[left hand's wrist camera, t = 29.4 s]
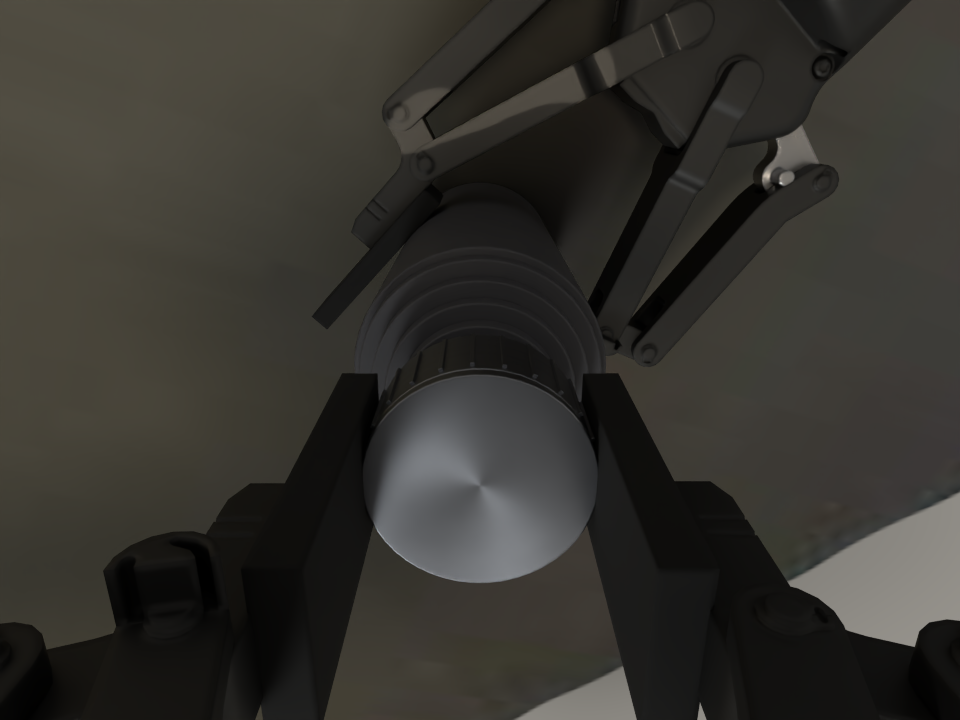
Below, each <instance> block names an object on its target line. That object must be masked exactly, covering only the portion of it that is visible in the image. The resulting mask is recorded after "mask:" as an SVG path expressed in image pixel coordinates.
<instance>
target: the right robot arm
mask: <svg viewBox="0 0 960 720" xmlns="http://www.w3.org/2000/svg"><path fill="white" fill-rule="evenodd" d="M549 1H550V0H490V1H489V2H488V3H487V4H486V5H485V6H484V7H483V8H482V9H481V10H480V11H479V12H478V13H477V14H476V15H475V16H474V17H473V18H472V19H471V20H470V21H468V22H467V23H466V24H465V25H464V26H463V27H462V28H461V29H460V30H459V31H458V32H457V33H456V34H455V35H454V36H453V37H452V38H451V39H450V40H449V41H448V42H447V43H446V44H445V45H443V46H442V47H441V48H440V49H439V50H438V51H437V52H436V53H435V54H434V55H433V56H432V57H431V58H430V59H429V60H428V61H427V62H426V63H425V64H424V65H423V66H422V67H421V68H420V69H418V70H417V71H416V72H415V73H414V74H413V75H412V76H411V77H410V78H409V79H408V80H407V81H406V82H405V83H404V84H403V85H402V86H401V87H400V88H399V89H398V90H397V91H396V92H395V93H393V94H392V95H391V96H390V97H389V98H388V99H387V101H386V102H385V104H384V105H383V110H382V115H383V120H384V122H385V123H386V125H387V126H388V127H389V128H390V130H391V132H392V134H393V136H394V138H395V139H396V141H397V143H398V145H399V148H400V150H401V156H402V158H401V164H400V167H399V169H398V170H397V172H396V173H395V174H394V175H393V176H392V177H391V179H390V180H389V181H388V182H387V183H386V184H385V185H384V187H383V188H382V189H381V190H380V191H379V192H378V194H377V195H376V196H375V197H374V198H373V199H372V201H371V202H370V203H369V204H368V205H367V206H366V208H365V209H364V210H363V211H362V212H361V213H360V214H359V216H358V217H357V218H356V219H355V223H354V226H353V229H352V233H353V234H354V235H355V236H356V237H357V238H358V239H360V240H361V241H362V242H363V243H364V244H365V245H366V246H367V247H369V248H370V250H369V251H368V252H367V253H366V254H365V256H364V257H363V258H362V259H361V260H360V261H359V262H358V263H357V265H356V266H355V267H354V268H353V269H352V270H351V271H350V272H349V274H348V275H347V276H346V277H345V278H344V279H343V280H342V281H341V283H340V284H339V285H338V286H337V287H336V288H335V289H334V291H333V292H332V293H331V294H330V295H329V296H328V297H327V298H326V300H325V301H324V302H323V303H322V305H321V306H320V307H319V308H318V310H317V311H316V312H315V313H314V314H313V316H312V317H313V318H314V319H315V320H317V321H318V322H319V323H320V324H321V325H323V326H324V327H325V328H326V329H328V328H329V327H330V326H331V324H332V323H333V322H334V321H335V320H336V319H337V318H338V317H339V316H340V315H341V313H342V312H343V311H344V310H345V309H346V308H347V307H348V306H349V305H350V303H351V302H352V301H353V300H354V299H355V298H356V297H357V296H358V295H359V293H360V292H361V291H362V290H363V289H364V288H365V287H366V286H367V285H368V283H369V282H370V281H371V280H372V279H373V278H374V277H375V276H376V275H377V273H378V272H379V271H380V270H381V269H382V268H383V267H384V266H385V265H386V264H387V262H388V261H389V260H390V259H391V258H392V257H393V256H394V255H395V254H396V252H397V251H398V250H399V249H400V248H401V247H402V246H403V245H404V244H405V242H406V241H407V240H408V239H409V238H410V237H411V236H412V235H413V234H414V232H415V231H416V230H417V229H418V228H419V227H420V226H421V225H422V224H423V222H424V221H425V220H426V219H427V218H428V217H429V216H430V215H431V214H432V212H433V211H434V210H435V209H436V208H437V207H438V206H439V205H440V203H441V200H442V198H443V196H444V195H443V194H442V193H440V192H439V191H438V190H437V189H436V188H435V187H434V186H433V185H432V184H431V183H432V182H433V181H434V180H435V179H436V178H438V177H440V176H442V175H444V174H445V173H447V172H449V171H451V170H453V169H455V168H457V167H459V166H461V165H462V164H464V163H466V162H468V161H470V160H472V159H474V158H476V157H478V156H479V155H481V154H483V153H485V152H487V151H489V150H491V149H493V148H495V147H496V146H498V145H500V144H502V143H504V142H506V141H508V140H510V139H512V138H513V137H515V136H517V135H519V134H521V133H523V132H525V131H527V130H528V129H530V128H532V127H534V126H536V125H538V124H540V123H542V122H544V121H545V120H547V119H549V118H551V117H553V116H555V115H557V114H559V113H561V112H562V111H564V110H566V109H568V108H570V107H572V106H574V105H576V104H578V103H579V102H581V101H583V100H585V99H587V98H589V97H591V96H593V95H595V94H598V93H600V92H602V91H604V90H606V89H608V88H611V89H612V90H613V91H614V92H615V94H616V95H617V96H618V97H619V98H620V99H621V100H622V101H623V102H625V103H626V104H628V105H630V106H631V107H633V108H635V109H636V110H638V111H640V112H641V113H642V115H643V117H644V119H645V121H646V123H647V125H648V127H649V129H650V131H651V132H652V133H653V135H654V136H655V137H656V138H657V139H658V140H659V141H660V142H661V143H662V144H663V145H662V147H661V149H660V151H659V153H658V155H657V157H656V159H655V162H654V165H653V169H652V174H651V176H650V178H649V180H648V182H647V184H646V186H645V188H644V190H643V192H642V194H641V196H640V198H639V200H638V202H637V204H636V206H635V208H634V210H633V212H632V214H631V216H630V218H629V220H628V222H627V224H626V226H625V228H624V230H623V232H622V234H621V236H620V238H619V240H618V242H617V244H616V246H615V248H614V250H613V252H612V254H611V256H610V258H609V260H608V262H607V264H606V266H605V268H604V270H603V272H602V274H601V276H600V278H599V280H598V282H597V284H596V286H595V288H594V290H593V292H592V294H591V296H590V298H589V300H588V304H589V305H590V307H591V309H592V311H593V313H594V315H595V317H596V319H597V321H598V324H599V327H600V330H601V332H602V337H603V342H604V346H605V356H610V355H614V354H616V353H619V354H622V355H624V356H627V357H629V358H631V359H634V360H635V361H636V362H637V363H638V364H639V365H641V366H643V367H651V366H654V365H656V364H657V363H658V362H660V361H661V360H662V358H663V357H664V356H665V355H666V354H667V353H668V352H669V351H670V350H671V348H672V347H673V346H674V345H675V344H676V343H677V342H678V341H679V340H680V339H681V337H682V336H683V335H684V334H685V333H686V332H687V331H688V330H689V329H690V327H691V326H692V325H693V324H694V323H695V322H696V321H697V320H698V319H699V318H700V316H701V315H702V314H703V313H704V312H705V311H706V310H707V309H708V308H709V306H710V305H711V304H712V303H713V302H714V301H715V300H716V299H717V298H718V296H719V295H720V294H721V293H722V292H723V291H724V290H725V289H726V288H727V287H728V285H729V284H730V283H731V282H732V281H733V280H734V279H735V278H736V277H737V275H738V274H739V273H740V272H741V271H742V270H743V269H744V268H745V267H746V265H747V264H748V263H749V262H750V261H751V260H752V259H753V258H754V257H755V256H756V254H757V253H758V252H759V251H760V250H761V249H762V248H763V247H764V246H765V244H766V243H767V242H768V241H769V240H770V239H771V238H772V237H773V236H774V235H775V233H776V232H777V231H778V230H779V229H780V228H781V227H782V226H783V225H784V223H785V222H786V221H788V220H790V219H791V218H793V217H795V216H797V215H798V214H800V213H802V212H803V211H805V210H807V209H808V208H810V207H812V206H813V205H815V204H817V203H818V202H820V201H822V200H823V199H825V198H827V197H829V196H830V195H831V194H832V193H833V192H834V191H835V189H836V188H837V186H838V182H839V177H838V173H837V171H836V170H835V169H834V168H833V167H831V166H829V165H824V164H820V163H819V162H818V160H817V157H816V155H815V153H814V151H813V149H812V146H811V144H810V142H809V140H808V138H807V135H806V133H805V131H804V129H803V127H802V123H803V122H804V121H805V119H806V118H807V116H808V114H809V112H810V109H811V106H812V104H813V101H814V99H815V97H816V95H817V94H818V92H819V90H820V89H821V87H822V86H823V85H824V84H825V83H826V81H827V80H829V79H830V78H831V77H832V76H833V75H834V74H835V73H836V72H837V71H839V70H840V69H841V68H842V67H843V66H844V65H845V64H846V63H847V62H848V61H849V60H850V59H851V58H852V57H853V56H854V55H856V54H857V53H858V52H859V51H860V50H861V49H862V48H863V47H864V46H865V45H866V44H867V43H868V42H869V41H870V40H871V39H872V38H873V37H874V36H875V35H876V34H877V33H878V32H879V31H880V30H881V29H882V28H883V27H884V26H885V25H886V24H887V23H888V22H889V21H891V20H892V19H893V18H894V17H895V16H896V15H897V14H898V13H899V12H900V11H901V10H902V9H903V8H904V7H905V6H906V5H907V4H908V3H909V2H910V1H911V0H616V6H615V11H614V17H613V23H612V29H611V34H610V40H609V45H607V46H605V47H603V48H602V49H600V50H598V51H596V52H594V53H592V54H590V55H589V56H587V57H585V58H583V59H581V60H579V61H577V62H576V63H574V64H572V65H570V66H568V67H567V68H565V69H563V70H561V71H559V72H557V73H555V74H554V75H552V76H550V77H548V78H546V79H544V80H543V81H541V82H539V83H537V84H535V85H533V86H531V87H530V88H528V89H526V90H524V91H522V92H520V93H518V94H517V95H515V96H513V97H511V98H509V99H507V100H506V101H504V102H502V103H500V104H498V105H496V106H494V107H493V108H491V109H489V110H487V111H485V112H483V113H482V114H480V115H478V116H476V117H474V118H472V119H470V120H469V121H467V122H465V123H463V124H461V125H459V126H457V127H456V128H454V129H452V130H450V131H448V132H446V133H445V134H443V135H441V136H439V137H437V138H435V136H434V134H433V132H432V130H431V128H430V126H429V124H428V122H427V120H426V117H427V116H428V115H429V114H430V113H431V112H432V111H433V110H434V109H435V108H436V107H438V106H439V105H440V104H441V103H442V102H443V101H444V100H445V99H446V98H447V97H448V96H449V95H450V94H451V93H453V92H454V91H455V90H456V89H457V88H458V87H459V86H460V85H461V84H462V83H463V82H464V81H465V80H466V79H467V78H469V77H470V76H471V75H472V74H473V73H474V72H475V71H476V70H477V69H478V68H479V67H480V66H481V65H482V64H484V63H485V62H486V61H487V60H488V59H489V58H490V57H491V56H492V55H493V54H494V53H495V52H496V51H497V50H498V49H500V48H501V47H502V46H503V45H504V44H505V43H506V42H507V41H508V40H509V39H510V38H511V37H512V36H513V35H515V34H516V33H517V32H518V31H519V30H520V29H521V28H522V27H523V26H524V25H525V24H526V23H527V22H528V21H530V20H531V19H532V18H533V17H534V16H535V15H536V14H537V13H538V12H539V11H540V10H541V9H542V8H543V7H544V6H546V5H547V4H548V3H549ZM766 140H767V142H768V151H767V154H766V156H765V157H764V159H763V160H762V161H761V162H760V163H759V164H758V165H757V166H756V168H755V169H754V173H753V180H754V183H753V184H752V185H750V186H749V187H748V188H747V189H745V190H744V191H743V192H742V193H741V194H739V195H738V196H737V198H736V199H735V200H734V201H733V202H732V203H731V204H730V205H729V206H728V207H727V208H726V209H725V211H724V212H723V213H722V214H721V215H720V216H719V218H718V219H717V220H716V221H715V222H714V223H713V224H712V226H711V227H710V228H709V229H708V230H707V231H706V233H705V234H704V235H703V236H702V237H701V238H700V239H699V241H698V242H697V243H696V244H695V245H694V246H693V248H692V249H691V250H690V251H689V252H688V253H687V254H686V256H685V257H684V258H683V259H682V260H681V261H680V263H679V264H678V265H677V266H676V267H675V268H674V269H673V271H672V272H671V273H670V274H669V275H668V276H667V278H666V279H665V280H664V281H663V282H662V283H661V284H660V286H659V287H658V288H657V289H656V290H655V291H654V293H653V294H652V295H651V296H650V297H649V298H648V299H647V301H646V302H645V303H644V304H643V305H642V306H641V308H640V309H639V310H638V311H637V312H636V313H635V314H634V316H633V317H632V315H633V313H634V311H635V310H636V308H637V306H638V304H639V302H640V300H641V298H642V296H643V294H644V293H645V291H646V289H647V287H648V285H649V283H650V281H651V279H652V277H653V276H654V274H655V272H656V270H657V268H658V266H659V264H660V262H661V260H662V259H663V257H664V255H665V253H666V251H667V249H668V247H669V245H670V243H671V242H672V240H673V238H674V236H675V234H676V232H677V230H678V228H679V226H680V225H681V223H682V221H683V219H684V217H685V215H686V213H687V211H688V209H689V208H690V206H691V204H692V202H693V200H694V198H695V196H696V195H697V193H698V192H699V191H700V190H701V189H703V188H704V187H705V185H706V184H707V183H708V181H709V179H710V178H711V176H712V174H713V172H714V170H715V168H716V166H717V164H718V163H719V161H720V159H721V157H722V155H723V153H724V151H725V149H726V148H730V147H736V146H741V145H746V144H751V143H756V142H761V141H766ZM631 317H632V318H631Z"/></svg>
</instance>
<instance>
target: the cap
mask: <svg viewBox="0 0 960 720" xmlns="http://www.w3.org/2000/svg"><path fill="white" fill-rule="evenodd" d="M370 428H372V432H371V435H370V438H369V441H368V444H367V446H366V449H365V453H364V457H363V462H362V471H363V487H364V500H365V507H366V509H367V512H368V515H369V517H370V519H371V521H372V523H373V525H374V526H375V528H376V530H377V531H378V533H379V534H380V535H381V537H382V538H383V539H384V541H385V542H386V543H387V544H388V545H389V546H390V547H391V548H392V549H393V550H394V551H395V552H396V553H397V554H399V555H400V556H401V557H402V558H404V559H405V560H406V561H408V562H410V563H411V564H413V565H414V566H416V567H418V568H420V569H422V570H424V571H426V572H428V573H430V574H433V575H436V576H439V577H442V578H446V579H450V580H455V581H461V582H470V583H491V582H500V581H506V580H510V579H515V578H518V577H521V576H524V575H527V574H530V573H532V572H534V571H536V570H539V569H541V568H543V567H544V566H546V565H548V564H549V563H551V562H553V561H554V560H556V559H557V558H558V557H559V556H561V555H562V554H563V553H564V552H566V551H567V550H568V549H569V548H570V547H571V545H572V544H573V543H574V542H575V541H576V540H577V539H578V537H579V536H580V535H581V533H582V532H583V531H584V529H585V527H586V525H587V524H588V522H589V520H590V518H591V516H592V513H593V511H594V508H595V505H596V493H597V479H598V460H597V455H596V451H595V448H594V445H593V442H595V438H594V435H593V432H592V429H591V427H590V424H589V421H588V418H587V415H586V412H585V409H584V406H583V404H582V401H581V402H579V400H578V397H577V395H576V392H575V389H574V386H573V383H572V380H571V379H570V378H569V379H567V377H566V376H565V375H564V374H563V372H562V371H561V370H560V369H559V368H558V367H557V366H556V364H555V361H554V360H553V359H552V358H551V359H549V358H547V357H546V356H545V355H543V354H542V353H541V352H539V351H537V350H535V349H534V348H532V347H531V345H530V344H527V345H526V344H523V343H521V342H518V341H516V340H512V339H508V338H504V336H503V335H500V336H492V335H475V333H474V334H471V335H469V336H461V337H456V338H452V339H448V340H447V339H443V341H442V342H440V343H437V344H435V345H432V346H430V347H429V348H427V349H425V350H423V351H421V350H420V351H418V352H417V355H416V356H414V357H413V358H412V359H410V360H409V361H408V362H407V363H406V364H405V365H404V366H403V367H402V368H401V369H400V368H398V369H397V371H396V374H395V377H394V378H393V379H392V381H391V383H390V384H389V386H388V388H387V390H385V389H384V390H383V392H382V395H381V397H380V400H379V403H378V406H377V409H376V412H375V415H374V418H373V421H372V424H371V426H370Z"/></svg>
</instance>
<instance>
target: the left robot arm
mask: <svg viewBox="0 0 960 720" xmlns="http://www.w3.org/2000/svg"><path fill="white" fill-rule="evenodd" d="M581 401H582V404H583V406H584V409H585V412H586V415H587V418H588V421H589V424H590V427H591V429H592V432H593V435H594V438H595V442H593V445H594V448H595V451H596V455H597V460H598V479H597V493H596V505H595V508H594V511H593V513H592V516H591V518H590V520H589V522H588V524H587V527H588V531H589V535H590V539H591V542H592V546H593V550H594V554H595V558H596V562H597V566H598V570H599V574H600V578H601V581H602V585H603V589H604V593H605V597H606V601H607V605H608V609H609V613H610V617H611V621H612V624H613V628H614V632H615V636H616V640H617V644H618V648H619V652H620V656H621V660H622V663H623V667H624V671H625V675H626V679H627V683H628V687H629V691H630V695H631V698H632V702H633V706H634V710H635V714H636V718H637V720H697V718H698V711H699V704H700V703H701V706H702V708H703V711H704V714H705V717H706V719H707V720H960V621H955V620H941V621H935V622H930V623H928V624H927V625H926V626H925V627H924V628H923V629H921V630H920V631H919V634H918V638H917V641H916V645H915V647H912V646H907V645H903V644H898V643H894V642H890V641H885V640H881V639H876V638H872V637H867V636H864V635H860V634H857V633H853V632H850V631H847V630H845V627H844V625H843V624H842V622H841V621H840V619H839V618H838V616H837V615H836V613H835V612H834V611H833V610H832V609H831V608H830V607H828V606H827V605H826V604H825V603H823V602H822V601H821V600H820V599H818V598H817V597H815V596H812V595H810V594H808V593H806V592H804V591H802V590H800V589H798V588H794V587H790V585H789V584H788V582H787V581H786V579H785V578H784V576H783V575H782V573H781V571H780V570H779V568H778V567H777V565H776V564H775V562H774V561H773V559H772V558H771V556H770V555H769V553H768V551H767V550H766V548H765V547H764V545H763V544H762V542H761V541H760V539H759V538H758V536H757V535H755V533H754V532H755V531H754V530H753V528H752V527H751V525H750V524H749V522H748V521H747V520H745V518H744V514H743V513H742V511H741V510H740V508H739V507H738V505H737V504H736V502H735V501H734V499H733V497H731V496H730V495H728V494H727V493H726V492H724V491H723V490H721V489H720V488H719V487H717V486H716V485H715V484H713V483H712V482H710V481H674V480H673V478H672V476H671V474H670V472H669V470H668V468H667V466H666V464H665V462H664V460H663V459H662V457H661V455H660V453H659V451H658V449H657V447H656V445H655V443H654V441H653V439H652V437H651V436H650V434H649V432H648V430H647V428H646V426H645V424H644V422H643V420H642V418H641V416H640V414H639V412H638V411H637V409H636V407H635V405H634V403H633V401H632V399H631V397H630V395H629V393H628V391H627V389H626V388H625V386H624V384H623V382H622V380H621V378H620V376H619V374H618V373H583V381H582V398H581ZM378 403H379V391H378V373H342V375H341V377H340V379H339V381H338V383H337V385H336V386H335V388H334V390H333V392H332V394H331V396H330V398H329V400H328V402H327V404H326V406H325V408H324V410H323V411H322V413H321V415H320V417H319V419H318V421H317V423H316V425H315V427H314V429H313V431H312V433H311V434H310V436H309V438H308V440H307V442H306V444H305V446H304V448H303V450H302V452H301V454H300V456H299V458H298V459H297V461H296V463H295V465H294V467H293V469H292V471H291V473H290V475H289V477H288V479H287V481H286V483H250V484H249V485H248V486H246V487H245V488H244V489H242V490H241V491H239V492H238V493H237V494H235V495H234V496H232V497H231V498H230V499H228V501H227V502H226V504H225V505H224V507H223V509H222V510H221V512H220V513H219V515H218V516H217V518H216V522H214V523H213V524H212V526H211V527H210V529H209V530H208V532H207V533H206V535H205V534H201V533H197V532H170V533H166V534H161V535H157V536H152V537H150V538H147V539H145V540H142V541H140V542H138V543H135V544H133V545H131V546H129V547H128V548H126V549H125V550H124V551H122V552H121V553H119V554H118V555H116V556H115V557H114V558H113V559H112V560H111V561H110V563H109V564H108V565H107V567H106V568H105V569H104V571H103V572H104V576H105V581H106V585H107V589H108V593H109V598H110V602H111V606H112V610H113V614H114V619H115V623H116V628H115V631H114V633H113V634H110V635H106V636H103V637H99V638H96V639H92V640H88V641H83V642H79V643H74V644H70V645H65V646H61V647H57V648H52V649H48V650H46V646H45V643H44V639H43V636H42V634H41V633H40V632H39V631H38V630H37V629H36V628H35V627H33V626H32V625H27V624H22V623H16V622H12V623H4V624H0V720H255V718H256V716H257V713H258V710H259V708H260V705H261V708H262V715H263V720H324V716H325V712H326V708H327V704H328V700H329V696H330V692H331V689H332V685H333V681H334V677H335V673H336V669H337V665H338V661H339V657H340V653H341V649H342V646H343V642H344V638H345V634H346V630H347V626H348V622H349V618H350V614H351V610H352V607H353V603H354V599H355V595H356V591H357V587H358V583H359V579H360V575H361V571H362V567H363V564H364V560H365V556H366V552H367V548H368V544H369V540H370V536H371V532H372V528H373V523H372V521H371V519H370V517H369V515H368V512H367V509H366V507H365V500H364V487H363V471H362V462H363V457H364V453H365V449H366V446H367V444H368V441H369V438H370V435H371V432H372V428H370V426H371V424H372V421H373V418H374V415H375V412H376V409H377V406H378Z"/></svg>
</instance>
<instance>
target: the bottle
mask: <svg viewBox="0 0 960 720" xmlns="http://www.w3.org/2000/svg"><path fill="white" fill-rule="evenodd" d="M442 194H443V195H444V196H443V198H442V200H441V203H440V205H439V206H438V207H437V208H436V209H435V210H434V211H433V212H432V214H431V215H430V216H429V217H428V218H427V219H426V220H425V221H424V222H423V224H422V225H421V226H420V227H419V228H418V229H417V230H416V231H415V232H414V234H413V235H412V236H411V237H410V238H409V239H408V240H407V241H406V243H405V245H404V247H403V248H402V250H401V252H400V254H399V256H398V257H397V259H396V261H395V263H394V265H393V266H392V268H391V270H390V272H389V274H388V275H387V277H386V279H385V281H384V283H383V284H382V286H381V288H380V290H379V292H378V293H377V295H376V297H375V299H374V301H373V302H372V304H371V306H370V308H369V310H368V312H367V313H366V315H365V317H364V320H363V322H362V325H361V328H360V330H359V334H358V338H357V343H356V347H355V361H354V365H355V373H378V391H379V400H380V397H381V395H382V392H383V390H384V389H385V390H387V388H388V386H389V384H390V383H391V381H392V379H393V378H394V377H395V374H396V371H397V369H398V368H400V369H401V368H402V367H403V366H404V365H405V364H406V363H407V362H408V361H409V360H410V359H412V358H413V357H414V356H416V355H417V352H418V351H420V350H421V351H423V350H425V349H427V348H429V347H430V346H432V345H435V344H437V343H440V342H442V341H443V339H447V340H448V339H452V338H456V337H461V336H469V335H471V334H474V333H475V335H492V336H500V335H503V336H504V338H508V339H512V340H516V341H518V342H521V343H523V344H526V345H527V344H530V345H531V347H532V348H534V349H535V350H537V351H539V352H541V353H542V354H543V355H545V356H546V357H547V358H549V359H551V358H552V359H553V360H554V361H555V364H556V366H557V367H558V368H559V369H560V370H561V371H562V372H563V374H564V375H565V376H566V377H567V379H569V378H570V379H571V380H572V383H573V386H574V389H575V392H576V395H577V397H578V400H579V402H581V398H582V381H583V373H605V369H606V357H605V346H604V342H603V337H602V332H601V330H600V327H599V324H598V321H597V319H596V317H595V315H594V313H593V311H592V309H591V307H590V305H589V304H588V302H587V300H586V298H585V296H584V295H583V293H582V291H581V289H580V287H579V286H578V284H577V282H576V280H575V278H574V277H573V275H572V273H571V271H570V270H569V268H568V266H567V264H566V262H565V261H564V259H563V257H562V255H561V253H560V252H559V250H558V248H557V246H556V244H555V243H554V241H553V239H552V237H551V236H550V234H549V232H548V230H547V228H546V227H545V225H544V223H543V221H542V219H541V218H540V216H539V214H538V213H537V211H536V210H535V209H534V207H533V206H532V205H531V204H530V203H529V202H528V201H527V200H526V199H524V198H523V197H522V196H521V195H519V194H518V193H516V192H514V191H513V190H511V189H508V188H506V187H504V186H500V185H497V184H492V183H468V184H464V185H460V186H457V187H454V188H452V189H449V190H448V191H446V192H444V193H442Z"/></svg>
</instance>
